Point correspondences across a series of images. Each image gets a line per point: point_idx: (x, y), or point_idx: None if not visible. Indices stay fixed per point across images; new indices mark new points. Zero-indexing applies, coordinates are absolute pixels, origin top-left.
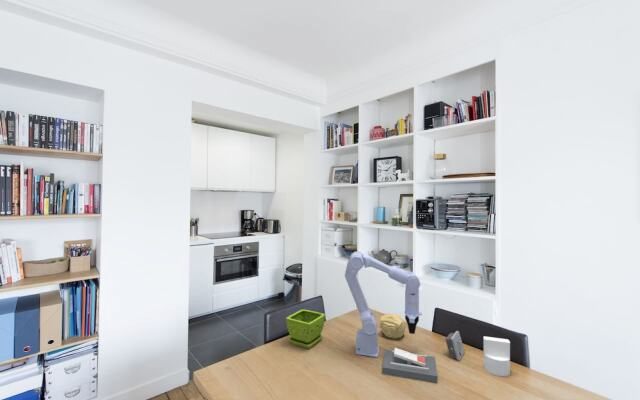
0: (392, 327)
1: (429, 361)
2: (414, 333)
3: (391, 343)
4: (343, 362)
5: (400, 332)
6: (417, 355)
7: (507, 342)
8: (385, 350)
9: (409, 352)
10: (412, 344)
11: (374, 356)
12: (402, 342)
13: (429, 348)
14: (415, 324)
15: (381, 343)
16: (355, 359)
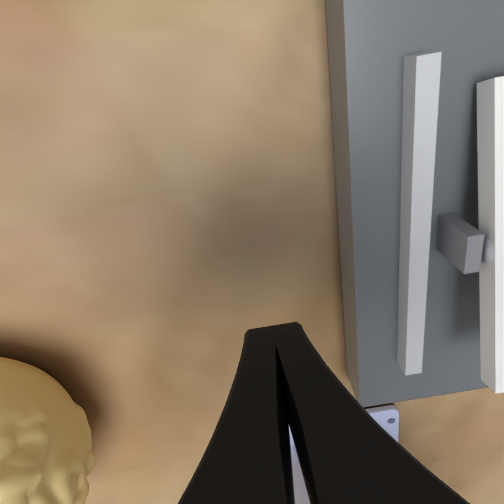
0: (63, 499)
1: (475, 19)
2: (300, 325)
3: (150, 382)
4: (488, 501)
5: (26, 401)
6: (499, 166)
7: None
8: (373, 404)
9: (493, 255)
10: (57, 247)
11: (397, 419)
12: (78, 324)
13: (23, 74)
14: (438, 496)
15: (190, 429)
16: (446, 474)
